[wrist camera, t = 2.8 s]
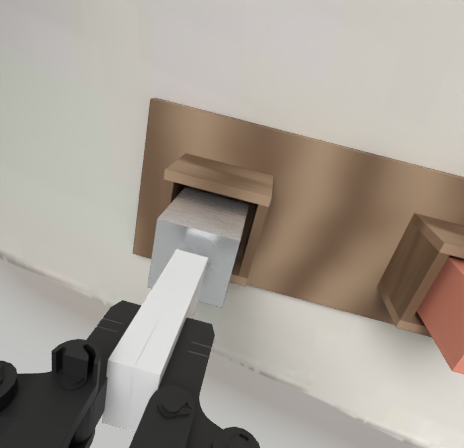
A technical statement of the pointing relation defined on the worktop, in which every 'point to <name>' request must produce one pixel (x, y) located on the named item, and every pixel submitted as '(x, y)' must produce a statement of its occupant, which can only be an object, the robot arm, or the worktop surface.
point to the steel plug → (200, 238)
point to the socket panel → (309, 211)
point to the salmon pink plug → (447, 313)
